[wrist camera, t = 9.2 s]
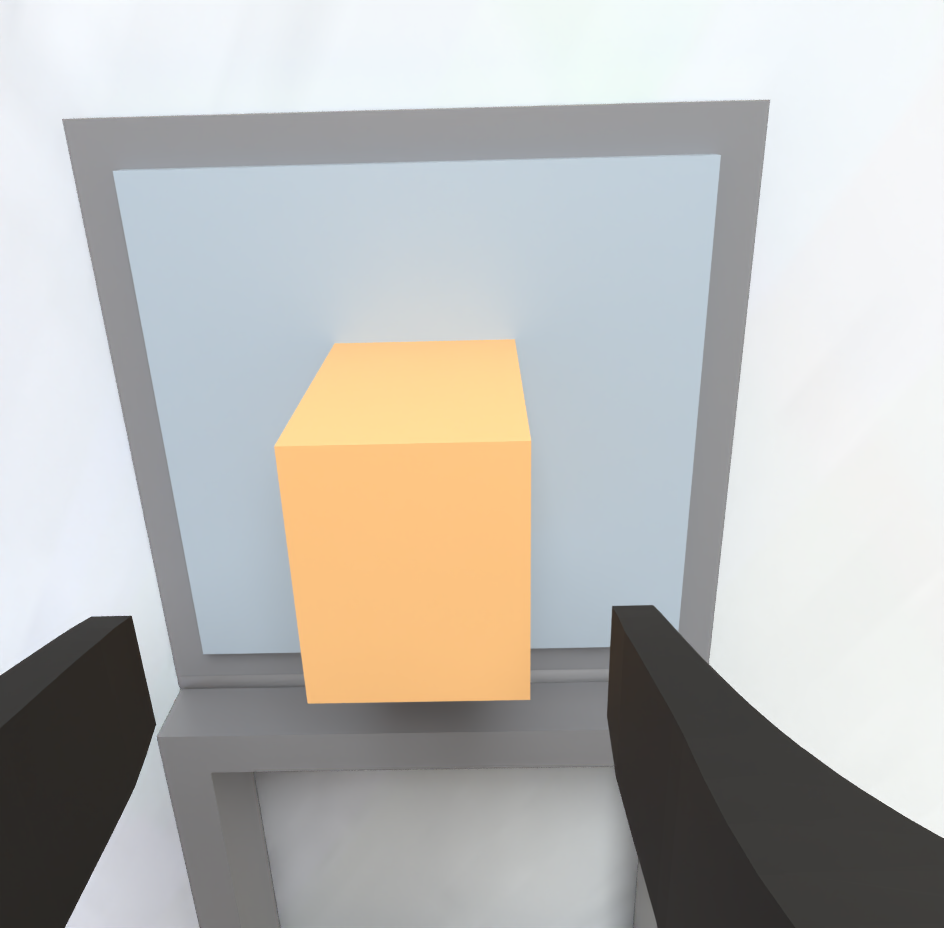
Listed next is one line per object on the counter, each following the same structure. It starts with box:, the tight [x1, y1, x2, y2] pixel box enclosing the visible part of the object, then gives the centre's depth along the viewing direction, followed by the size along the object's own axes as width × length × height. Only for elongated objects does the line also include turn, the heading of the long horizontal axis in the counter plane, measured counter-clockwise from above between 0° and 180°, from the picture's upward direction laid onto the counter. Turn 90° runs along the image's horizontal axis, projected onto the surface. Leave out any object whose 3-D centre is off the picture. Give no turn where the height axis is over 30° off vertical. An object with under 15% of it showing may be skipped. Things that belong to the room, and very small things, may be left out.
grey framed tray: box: [62, 100, 770, 928], centre depth 22 cm, size 14×28×3 cm, turn 1°
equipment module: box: [274, 339, 531, 704], centre depth 17 cm, size 4×5×6 cm
